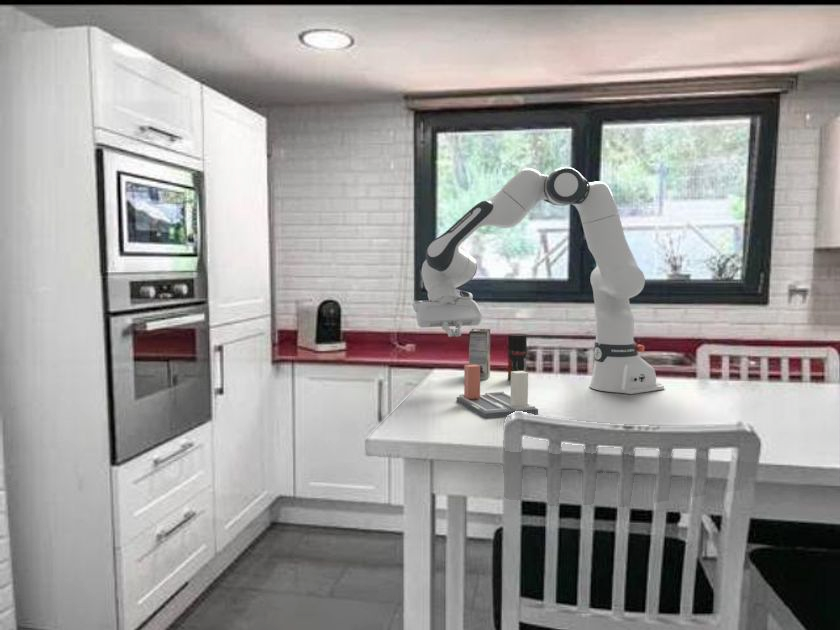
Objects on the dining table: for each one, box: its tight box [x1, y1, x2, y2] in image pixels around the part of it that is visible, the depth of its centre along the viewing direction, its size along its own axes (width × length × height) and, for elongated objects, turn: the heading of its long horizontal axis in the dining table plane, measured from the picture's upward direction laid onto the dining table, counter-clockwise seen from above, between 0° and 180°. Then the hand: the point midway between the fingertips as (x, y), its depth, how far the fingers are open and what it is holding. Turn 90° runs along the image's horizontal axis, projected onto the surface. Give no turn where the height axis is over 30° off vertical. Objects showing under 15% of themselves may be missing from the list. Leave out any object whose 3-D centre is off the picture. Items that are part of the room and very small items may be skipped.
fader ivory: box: [510, 371, 529, 407], centre depth 169 cm, size 4×3×9 cm
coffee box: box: [468, 328, 491, 381], centre depth 216 cm, size 9×6×16 cm
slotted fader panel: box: [456, 391, 539, 419], centre depth 174 cm, size 15×20×2 cm
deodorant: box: [507, 333, 528, 381], centre depth 212 cm, size 6×6×15 cm
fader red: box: [463, 364, 481, 399], centre depth 179 cm, size 4×3×9 cm
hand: (455, 335), depth 191 cm, fingers closed
